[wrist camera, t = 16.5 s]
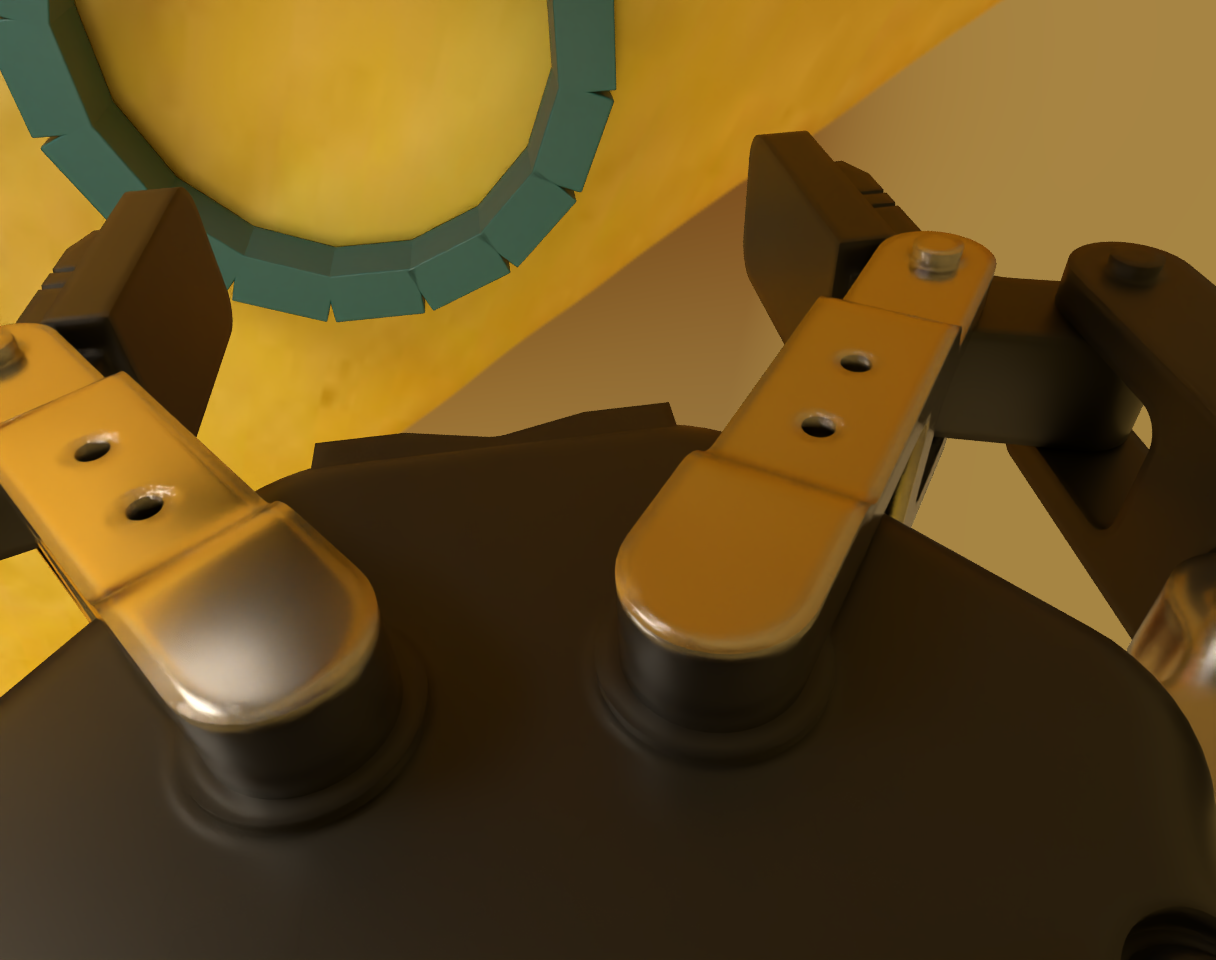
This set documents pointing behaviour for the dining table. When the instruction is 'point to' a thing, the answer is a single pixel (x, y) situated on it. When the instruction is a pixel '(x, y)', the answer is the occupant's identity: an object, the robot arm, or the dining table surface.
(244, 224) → the ring
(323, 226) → the dining table surface
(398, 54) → the dining table surface
